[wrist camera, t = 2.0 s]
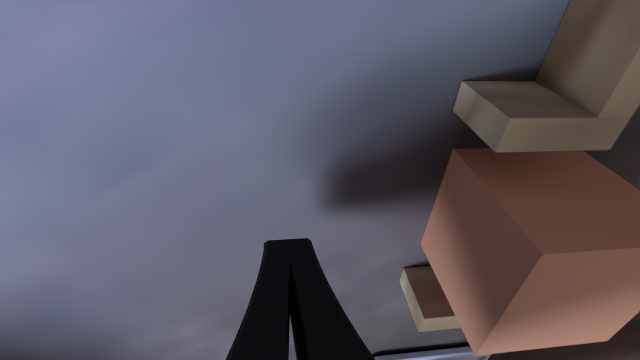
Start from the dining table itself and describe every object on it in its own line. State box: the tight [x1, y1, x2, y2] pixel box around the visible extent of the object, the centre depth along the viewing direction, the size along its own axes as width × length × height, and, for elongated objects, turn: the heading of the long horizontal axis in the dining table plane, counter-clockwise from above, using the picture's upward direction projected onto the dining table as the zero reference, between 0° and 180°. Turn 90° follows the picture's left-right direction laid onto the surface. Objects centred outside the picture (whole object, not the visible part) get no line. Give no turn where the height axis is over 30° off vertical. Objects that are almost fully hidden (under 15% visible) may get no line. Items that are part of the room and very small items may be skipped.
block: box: [421, 148, 640, 356], centre depth 12 cm, size 5×5×5 cm
